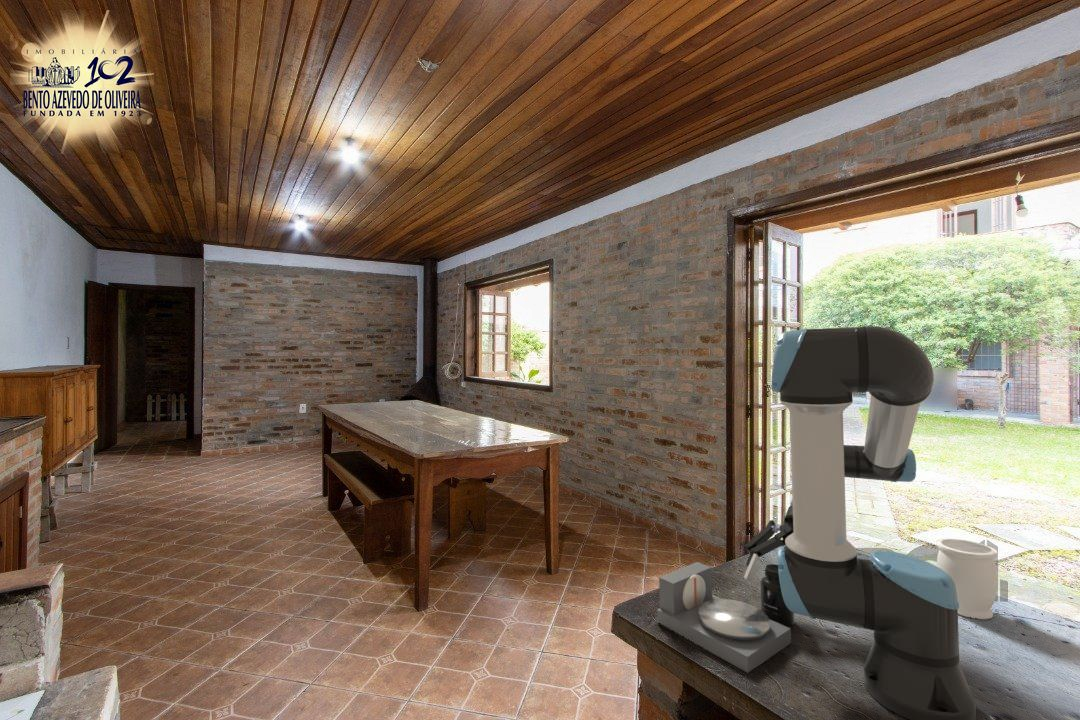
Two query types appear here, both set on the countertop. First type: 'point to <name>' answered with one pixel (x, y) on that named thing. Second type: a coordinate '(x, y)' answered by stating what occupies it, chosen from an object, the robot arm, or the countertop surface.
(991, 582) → the jar
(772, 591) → the supplement bottle
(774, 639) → the scale
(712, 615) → the scale pan
